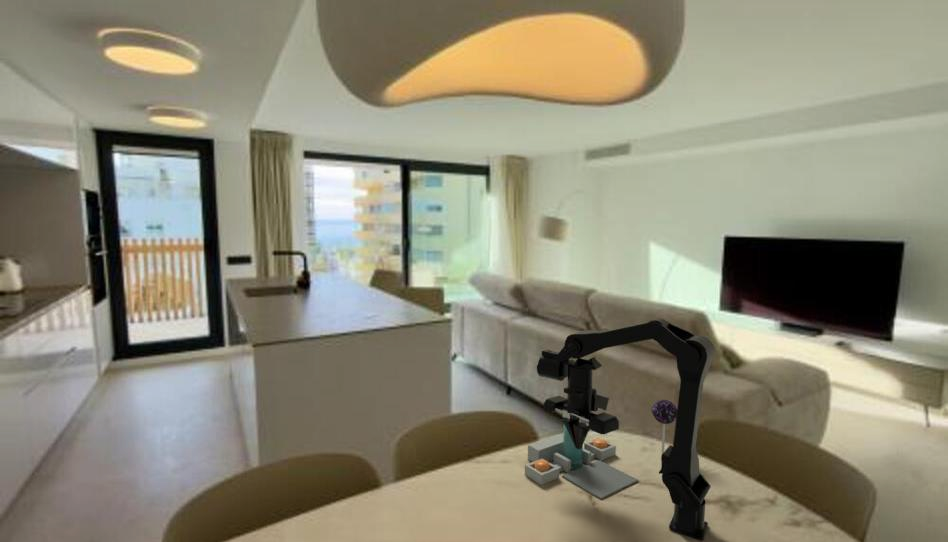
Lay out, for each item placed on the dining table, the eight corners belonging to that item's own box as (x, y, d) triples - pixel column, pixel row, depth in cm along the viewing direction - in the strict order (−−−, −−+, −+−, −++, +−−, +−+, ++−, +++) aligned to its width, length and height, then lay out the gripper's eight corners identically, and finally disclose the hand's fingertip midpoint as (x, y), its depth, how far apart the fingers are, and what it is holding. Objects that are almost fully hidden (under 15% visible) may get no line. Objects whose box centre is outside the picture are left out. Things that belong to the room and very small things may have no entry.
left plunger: (545, 480, 113) (545, 468, 113) (531, 475, 115) (532, 463, 115) (551, 473, 116) (551, 462, 116) (538, 469, 118) (538, 458, 118)
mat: (638, 481, 114) (638, 479, 114) (600, 499, 106) (601, 497, 106) (599, 461, 124) (599, 460, 124) (562, 476, 116) (562, 475, 116)
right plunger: (604, 456, 126) (604, 445, 126) (591, 452, 128) (591, 442, 128) (608, 451, 129) (608, 440, 129) (595, 447, 131) (596, 437, 131)
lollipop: (645, 452, 130) (647, 399, 129) (656, 445, 134) (659, 394, 133) (669, 461, 125) (672, 406, 124) (680, 453, 129) (683, 400, 128)
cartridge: (577, 471, 119) (579, 425, 118) (558, 465, 122) (560, 420, 121) (585, 463, 123) (587, 418, 122) (566, 457, 126) (568, 414, 125)
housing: (615, 454, 128) (616, 440, 128) (541, 485, 112) (541, 469, 111) (583, 439, 137) (583, 426, 137) (510, 465, 121) (510, 450, 121)
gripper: (634, 388, 108) (632, 454, 109) (573, 370, 123) (572, 427, 124) (603, 397, 101) (601, 467, 102) (542, 377, 116) (541, 438, 117)
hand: (578, 448), depth 111 cm, fingers closed
